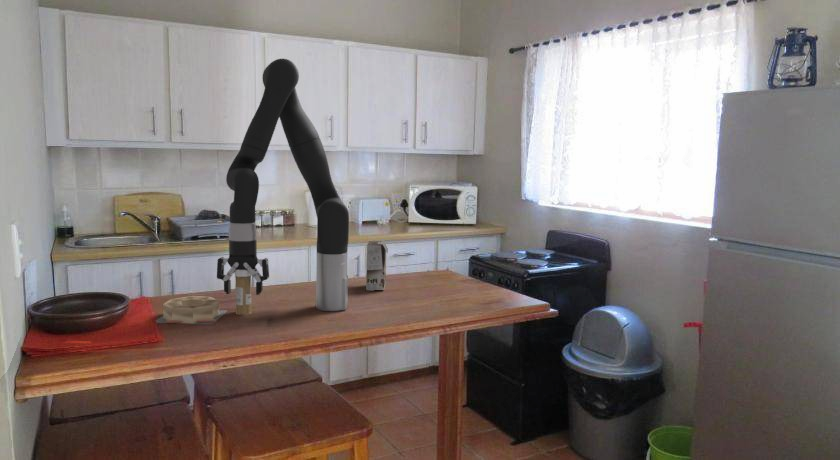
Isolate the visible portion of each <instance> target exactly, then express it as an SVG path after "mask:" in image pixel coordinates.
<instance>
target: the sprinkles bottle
mask: <svg viewBox="0 0 840 460" xmlns="http://www.w3.org/2000/svg"><path fill="white" fill-rule="evenodd" d="M251 277H252V275H251V274H250V273H249V271H248V270H235V273H234V278H235V289H234V290H235V291H234V292H235V295H234V296H235V314H236V315H240V316H246V315H247V316H248V315H251V314H252V313H253V312H252V285H251V284H252V278H251Z"/></svg>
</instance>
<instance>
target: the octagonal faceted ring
mask: <svg viewBox="0 0 840 460" xmlns="http://www.w3.org/2000/svg"><path fill="white" fill-rule="evenodd" d="M219 310H220V300H219V299H216V298H214V297H211V296H202V295H200V296H198V295H197V296H194V295H190V296H184V297H177V298H171V299H169V300H167V301H165V303H163V304H162V316H163V318H164V319H166V320H180V321H183V322H181V323H198V322H196V321H197V320H198V319H214V318H215V317H217V316H218V315H219Z"/></svg>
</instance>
